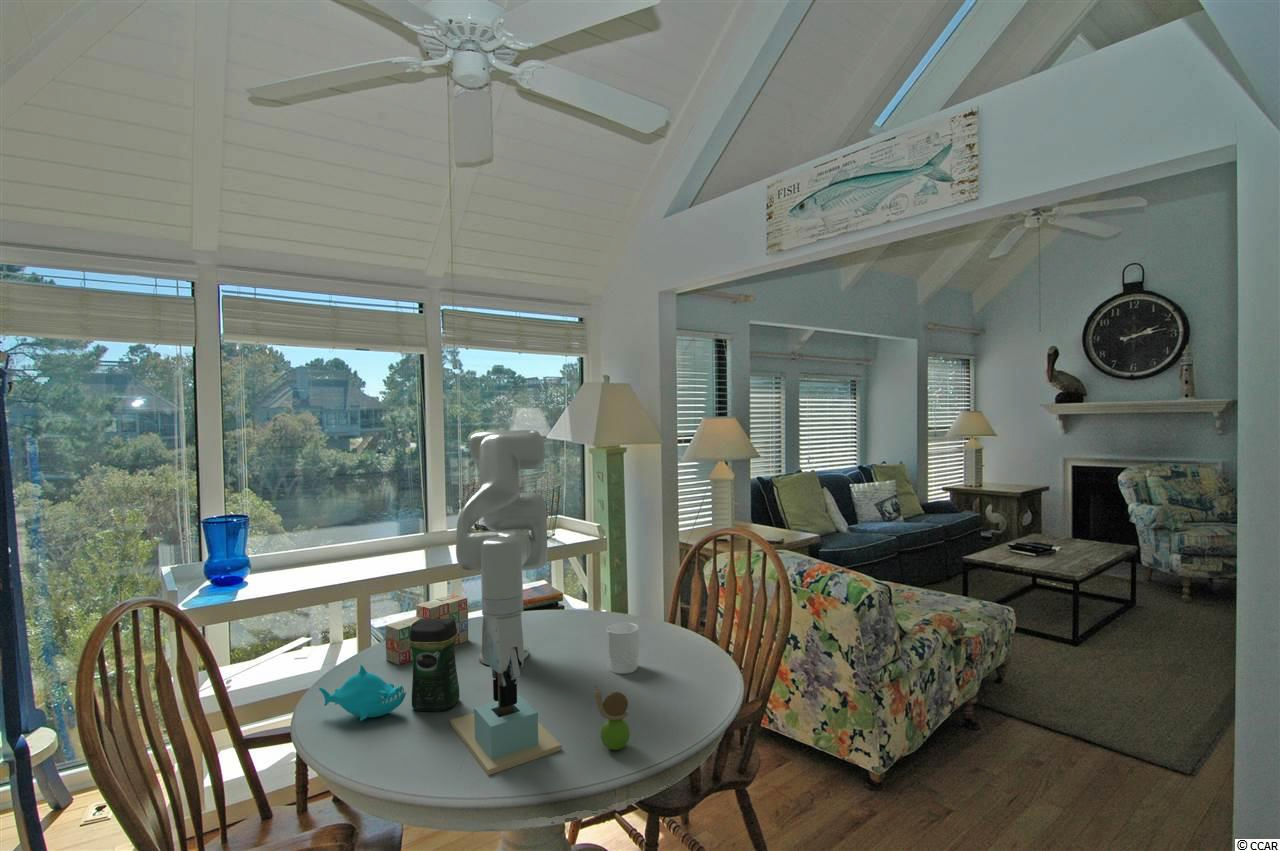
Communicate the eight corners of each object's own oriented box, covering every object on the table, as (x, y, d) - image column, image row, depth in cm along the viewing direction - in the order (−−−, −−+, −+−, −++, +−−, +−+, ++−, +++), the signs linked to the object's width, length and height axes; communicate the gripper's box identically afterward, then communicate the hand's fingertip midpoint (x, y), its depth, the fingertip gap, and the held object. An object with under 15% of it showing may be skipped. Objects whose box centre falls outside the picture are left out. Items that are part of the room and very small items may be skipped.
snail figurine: (595, 741, 118) (593, 678, 117) (629, 739, 118) (627, 676, 118) (595, 757, 112) (594, 691, 112) (631, 754, 113) (629, 689, 112)
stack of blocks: (399, 665, 157) (397, 617, 157) (385, 660, 161) (384, 613, 161) (469, 640, 174) (467, 596, 174) (455, 636, 178) (454, 593, 178)
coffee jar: (464, 696, 138) (461, 613, 138) (450, 713, 130) (447, 625, 130) (422, 696, 139) (420, 613, 139) (405, 712, 131) (403, 625, 131)
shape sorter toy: (450, 724, 126) (449, 690, 125) (516, 705, 133) (515, 673, 133) (488, 775, 107) (487, 735, 107) (561, 749, 115) (560, 712, 115)
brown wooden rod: (496, 722, 117) (494, 648, 117) (510, 718, 118) (508, 645, 118) (501, 728, 114) (499, 652, 114) (515, 724, 116) (513, 649, 116)
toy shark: (396, 726, 126) (395, 673, 125) (307, 728, 125) (305, 675, 125) (414, 704, 135) (412, 655, 135) (331, 706, 135) (329, 657, 135)
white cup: (641, 662, 155) (640, 622, 155) (638, 675, 147) (637, 633, 147) (610, 662, 156) (609, 622, 156) (605, 675, 148) (604, 633, 148)
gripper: (469, 598, 121) (471, 692, 121) (498, 619, 107) (501, 725, 107) (505, 591, 125) (508, 682, 125) (539, 611, 111) (541, 713, 112)
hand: (505, 701), depth 116 cm, fingers closed on brown wooden rod, 2 cm apart
